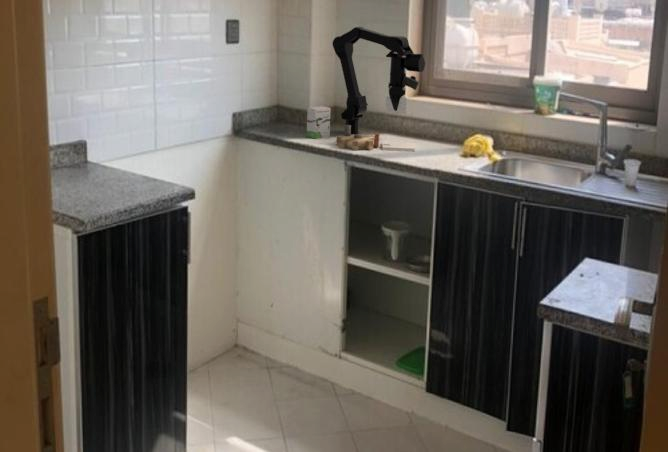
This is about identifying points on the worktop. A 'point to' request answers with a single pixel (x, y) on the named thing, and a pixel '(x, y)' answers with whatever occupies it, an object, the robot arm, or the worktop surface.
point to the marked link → (401, 106)
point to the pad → (398, 146)
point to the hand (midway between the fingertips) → (395, 109)
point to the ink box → (318, 122)
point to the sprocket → (357, 140)
